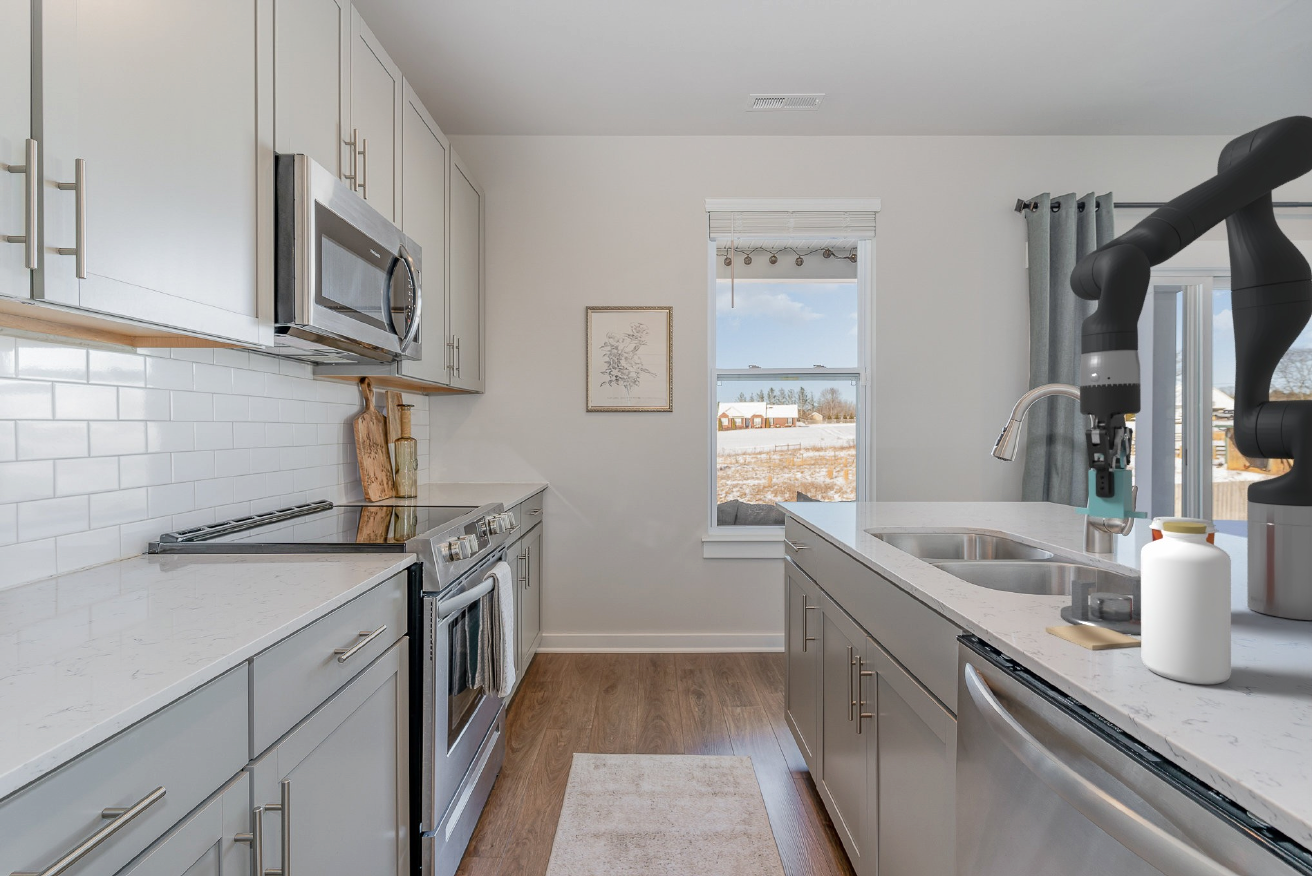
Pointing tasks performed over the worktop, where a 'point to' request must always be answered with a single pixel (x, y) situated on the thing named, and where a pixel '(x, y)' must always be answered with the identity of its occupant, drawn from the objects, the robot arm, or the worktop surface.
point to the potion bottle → (1186, 606)
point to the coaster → (1093, 636)
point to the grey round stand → (1105, 607)
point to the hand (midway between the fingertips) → (1110, 495)
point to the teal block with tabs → (1112, 506)
